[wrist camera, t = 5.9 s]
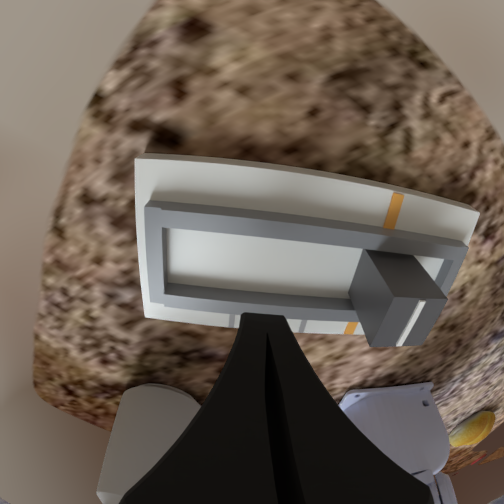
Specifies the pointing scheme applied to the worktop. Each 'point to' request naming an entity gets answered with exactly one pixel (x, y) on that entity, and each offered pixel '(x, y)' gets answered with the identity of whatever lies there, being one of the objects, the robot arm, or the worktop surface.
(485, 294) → the worktop surface
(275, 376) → the robot arm
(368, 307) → the fader
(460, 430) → the bread roll
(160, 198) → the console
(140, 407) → the can
